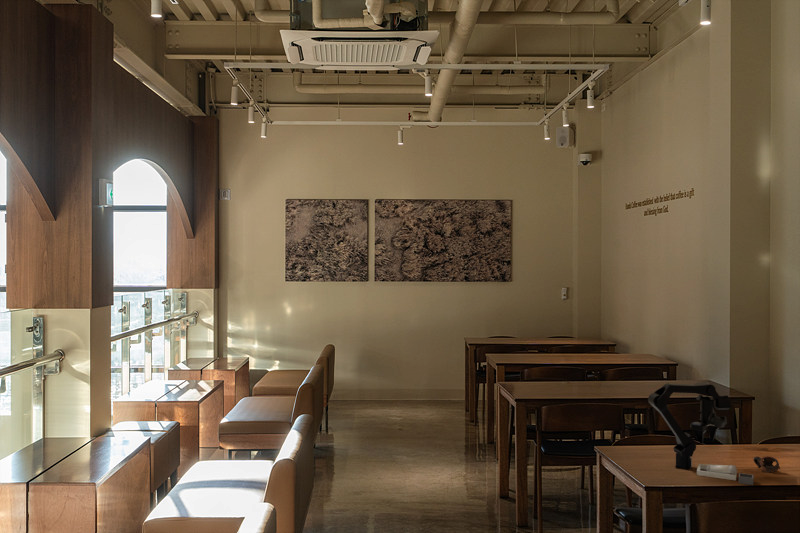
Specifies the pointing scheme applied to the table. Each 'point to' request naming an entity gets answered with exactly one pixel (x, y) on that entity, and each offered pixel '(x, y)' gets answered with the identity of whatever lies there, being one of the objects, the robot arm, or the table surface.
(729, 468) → the fuse
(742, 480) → the fuse holder
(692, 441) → the robot arm
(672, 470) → the table surface
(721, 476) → the parts tray
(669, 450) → the table surface
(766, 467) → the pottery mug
